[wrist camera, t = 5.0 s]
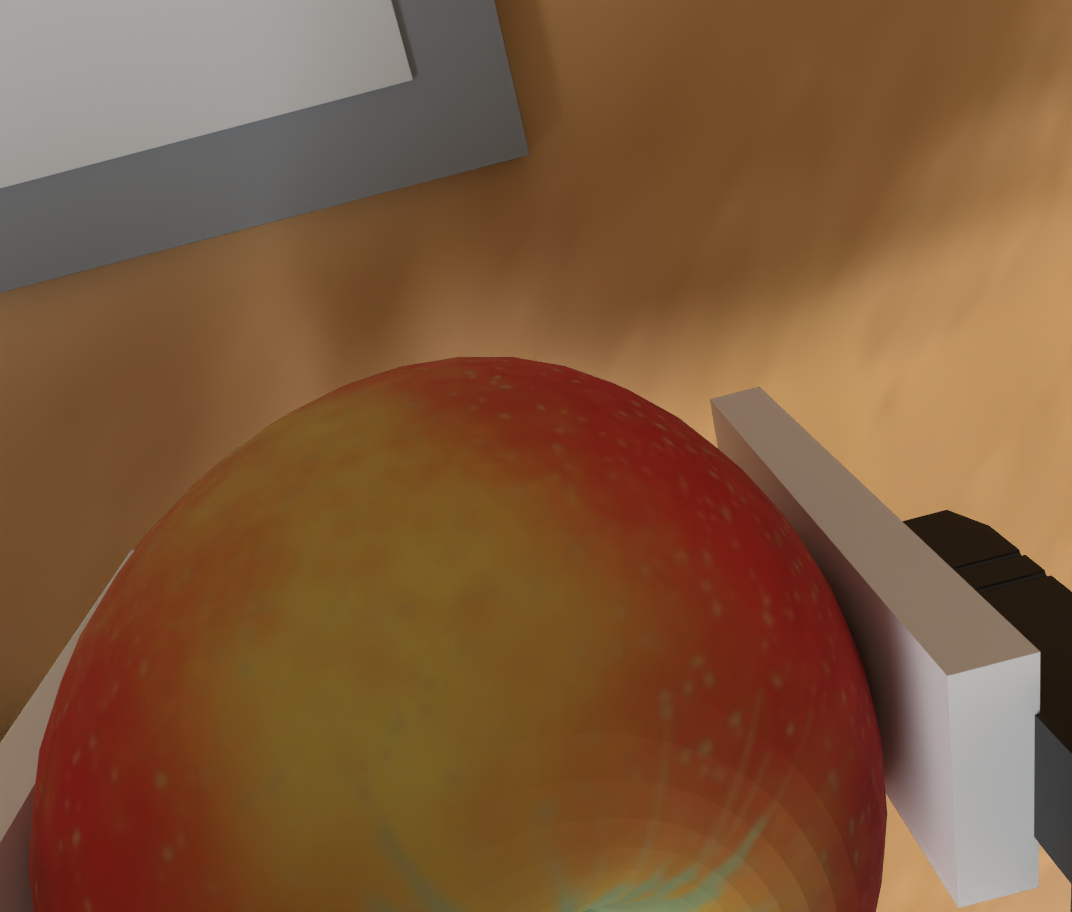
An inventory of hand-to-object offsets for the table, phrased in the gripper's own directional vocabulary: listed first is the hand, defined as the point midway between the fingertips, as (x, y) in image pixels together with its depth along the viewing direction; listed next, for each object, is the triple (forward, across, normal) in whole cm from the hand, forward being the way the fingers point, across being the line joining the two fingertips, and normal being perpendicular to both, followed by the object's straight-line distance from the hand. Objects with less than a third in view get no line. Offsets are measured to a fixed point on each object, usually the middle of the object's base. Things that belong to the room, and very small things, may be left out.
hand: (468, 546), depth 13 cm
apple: (+1, 0, 0) cm, 1 cm away
